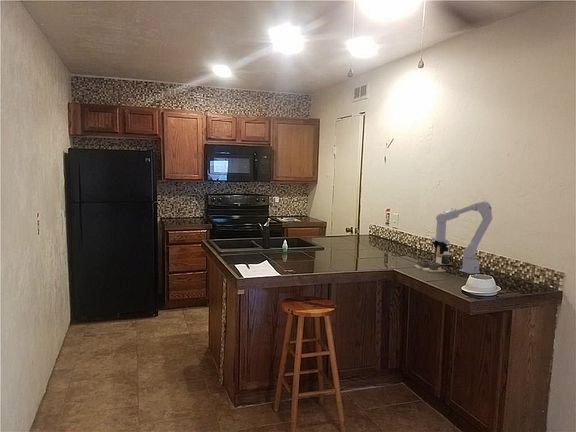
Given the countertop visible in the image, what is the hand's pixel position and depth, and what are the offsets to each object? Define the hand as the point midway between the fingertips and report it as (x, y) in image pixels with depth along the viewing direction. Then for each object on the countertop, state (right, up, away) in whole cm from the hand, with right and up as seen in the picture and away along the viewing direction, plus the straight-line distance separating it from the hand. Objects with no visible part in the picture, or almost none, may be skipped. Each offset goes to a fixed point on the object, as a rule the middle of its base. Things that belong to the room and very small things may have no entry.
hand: (439, 253), depth 282 cm
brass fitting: (0, -2, 0) cm, 2 cm away
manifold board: (-8, -9, -4) cm, 13 cm away
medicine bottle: (+7, -8, +13) cm, 17 cm away
